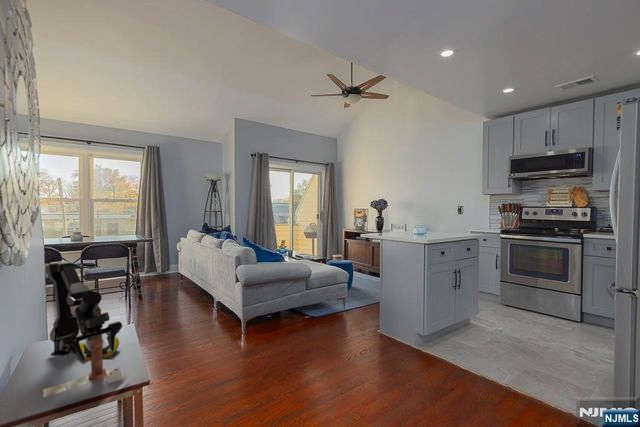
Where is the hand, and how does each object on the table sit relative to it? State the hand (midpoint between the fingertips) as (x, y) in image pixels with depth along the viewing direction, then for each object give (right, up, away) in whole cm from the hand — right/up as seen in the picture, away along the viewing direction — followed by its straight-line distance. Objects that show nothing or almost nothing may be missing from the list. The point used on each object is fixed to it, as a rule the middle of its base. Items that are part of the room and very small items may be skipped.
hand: (98, 355), depth 111 cm
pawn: (-1, -8, +1) cm, 8 cm away
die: (+5, -10, 0) cm, 11 cm away
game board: (-7, -9, -1) cm, 12 cm away
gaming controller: (-13, -9, +18) cm, 24 cm away
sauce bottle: (-27, -8, +33) cm, 43 cm away
